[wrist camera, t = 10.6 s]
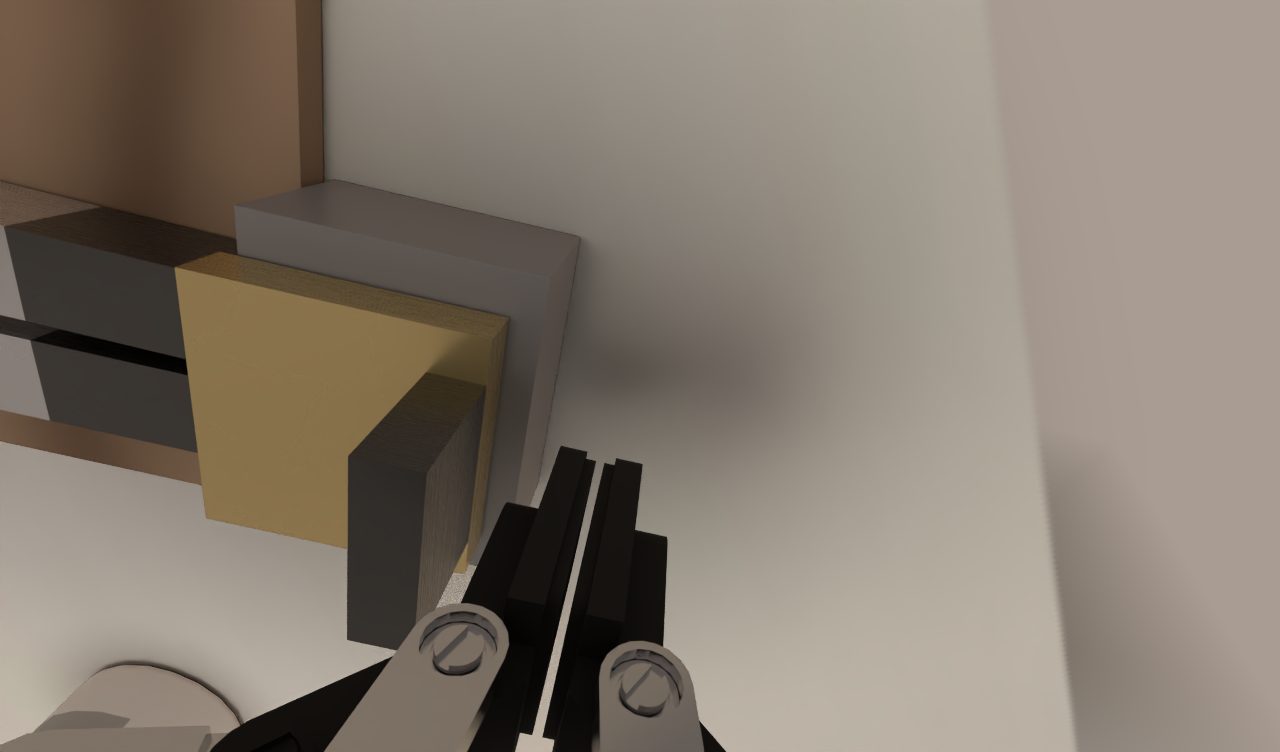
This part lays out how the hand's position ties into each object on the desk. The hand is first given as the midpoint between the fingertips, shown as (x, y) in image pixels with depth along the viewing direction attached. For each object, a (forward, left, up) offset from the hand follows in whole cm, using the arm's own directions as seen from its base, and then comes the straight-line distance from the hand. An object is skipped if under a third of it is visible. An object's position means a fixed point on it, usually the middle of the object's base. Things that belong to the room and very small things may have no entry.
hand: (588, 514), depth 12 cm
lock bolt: (-5, 0, -2) cm, 6 cm away
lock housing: (-5, 0, -6) cm, 8 cm away
